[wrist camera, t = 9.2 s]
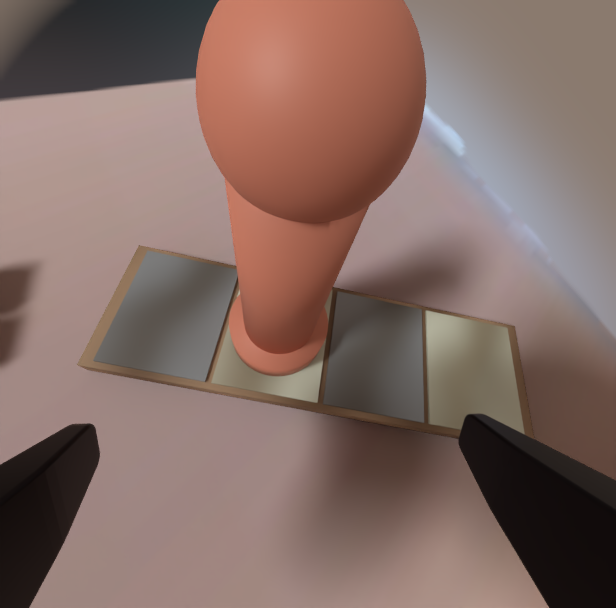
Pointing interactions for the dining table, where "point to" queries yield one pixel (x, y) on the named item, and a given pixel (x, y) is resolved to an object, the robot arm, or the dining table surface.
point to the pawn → (303, 151)
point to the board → (328, 362)
